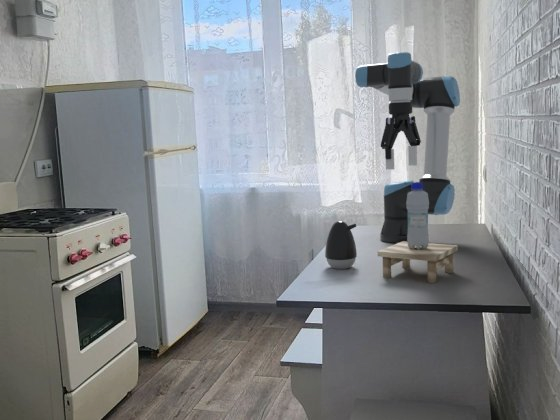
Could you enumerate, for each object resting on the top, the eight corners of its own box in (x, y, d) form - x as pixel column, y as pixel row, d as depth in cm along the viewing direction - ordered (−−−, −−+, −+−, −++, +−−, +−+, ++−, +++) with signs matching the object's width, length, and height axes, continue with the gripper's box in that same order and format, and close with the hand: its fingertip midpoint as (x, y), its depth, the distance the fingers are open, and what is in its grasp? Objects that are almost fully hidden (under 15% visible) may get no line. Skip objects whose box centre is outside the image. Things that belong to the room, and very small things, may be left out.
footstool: (402, 265, 197) (402, 241, 196) (457, 271, 186) (457, 245, 185) (378, 277, 182) (377, 251, 181) (436, 284, 172) (435, 256, 171)
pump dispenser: (353, 271, 191) (352, 223, 189) (321, 270, 195) (320, 223, 193) (360, 264, 201) (359, 219, 199) (330, 263, 204) (329, 218, 202)
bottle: (406, 250, 181) (405, 183, 178) (406, 246, 187) (405, 181, 185) (429, 250, 180) (429, 182, 177) (429, 246, 186) (428, 180, 184)
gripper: (410, 101, 209) (412, 163, 212) (368, 103, 191) (370, 170, 194) (430, 100, 203) (431, 163, 207) (388, 102, 186) (390, 171, 189)
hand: (401, 167), depth 200 cm, fingers open, 13 cm apart
